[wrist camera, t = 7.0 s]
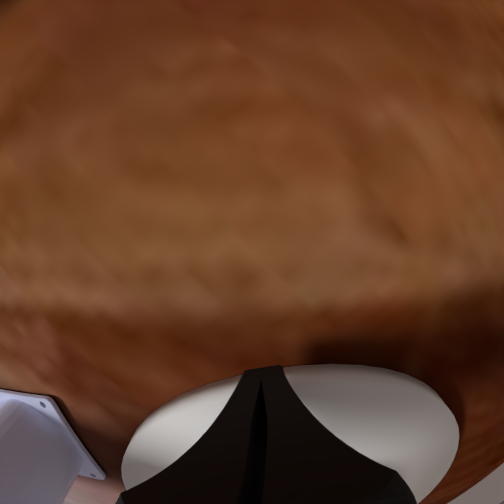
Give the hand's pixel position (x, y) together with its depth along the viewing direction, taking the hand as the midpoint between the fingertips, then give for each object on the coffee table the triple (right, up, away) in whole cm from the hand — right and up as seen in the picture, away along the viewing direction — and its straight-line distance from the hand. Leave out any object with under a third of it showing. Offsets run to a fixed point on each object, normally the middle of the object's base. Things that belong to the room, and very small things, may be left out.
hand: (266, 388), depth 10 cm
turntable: (+2, -11, +5) cm, 12 cm away
